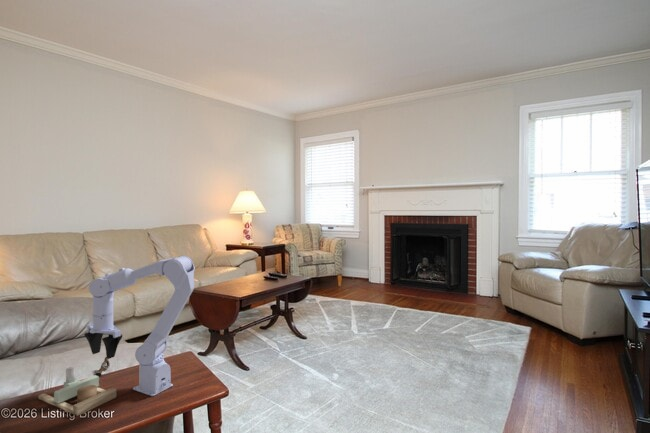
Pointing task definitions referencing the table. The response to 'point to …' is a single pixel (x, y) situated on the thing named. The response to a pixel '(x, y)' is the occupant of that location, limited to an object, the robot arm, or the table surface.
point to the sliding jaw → (73, 385)
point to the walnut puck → (86, 392)
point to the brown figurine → (103, 367)
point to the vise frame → (84, 405)
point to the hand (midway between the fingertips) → (103, 355)
